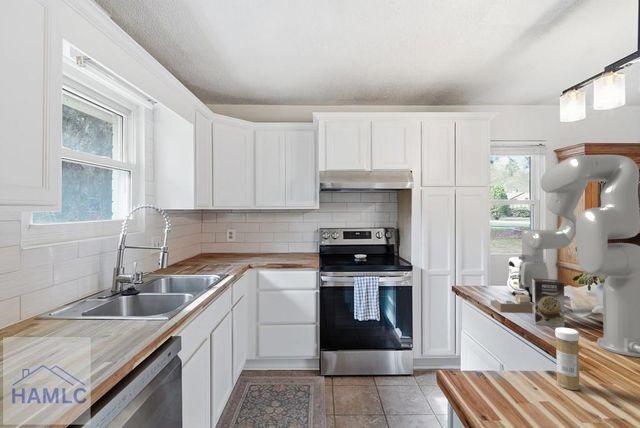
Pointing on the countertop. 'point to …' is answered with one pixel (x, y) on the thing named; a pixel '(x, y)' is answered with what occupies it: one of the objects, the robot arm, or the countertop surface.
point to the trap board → (512, 307)
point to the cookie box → (548, 302)
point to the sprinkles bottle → (567, 358)
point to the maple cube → (522, 299)
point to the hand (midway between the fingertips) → (533, 302)
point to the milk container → (515, 277)
